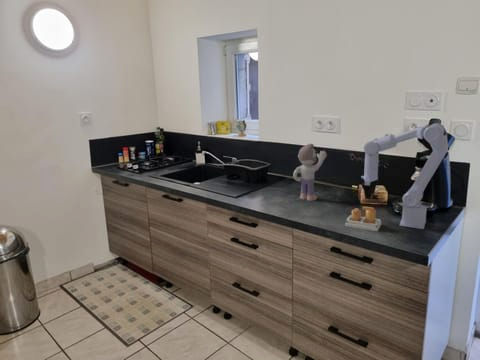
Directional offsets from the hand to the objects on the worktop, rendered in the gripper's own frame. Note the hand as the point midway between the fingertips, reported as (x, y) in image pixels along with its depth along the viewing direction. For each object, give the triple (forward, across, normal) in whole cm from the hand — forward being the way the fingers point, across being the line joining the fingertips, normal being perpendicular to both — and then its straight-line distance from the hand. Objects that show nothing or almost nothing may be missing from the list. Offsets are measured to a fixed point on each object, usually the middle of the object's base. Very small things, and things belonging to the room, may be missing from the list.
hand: (369, 196), depth 166 cm
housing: (+10, +12, 0) cm, 15 cm away
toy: (+10, -14, -33) cm, 37 cm away
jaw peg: (+9, +12, +3) cm, 15 cm away
